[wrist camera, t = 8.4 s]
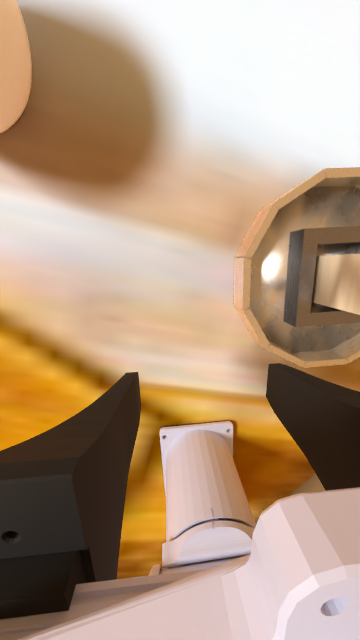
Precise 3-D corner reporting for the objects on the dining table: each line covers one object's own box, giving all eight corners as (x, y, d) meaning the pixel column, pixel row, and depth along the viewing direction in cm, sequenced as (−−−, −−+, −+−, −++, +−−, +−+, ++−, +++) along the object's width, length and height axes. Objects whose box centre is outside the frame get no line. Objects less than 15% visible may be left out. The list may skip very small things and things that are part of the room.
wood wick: (330, 298, 20) (432, 320, 13) (305, 300, 20) (392, 323, 12) (336, 254, 19) (451, 249, 12) (309, 256, 19) (408, 251, 11)
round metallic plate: (380, 348, 23) (406, 359, 20) (232, 361, 22) (240, 373, 19) (416, 177, 18) (454, 164, 16) (234, 183, 18) (245, 171, 15)
